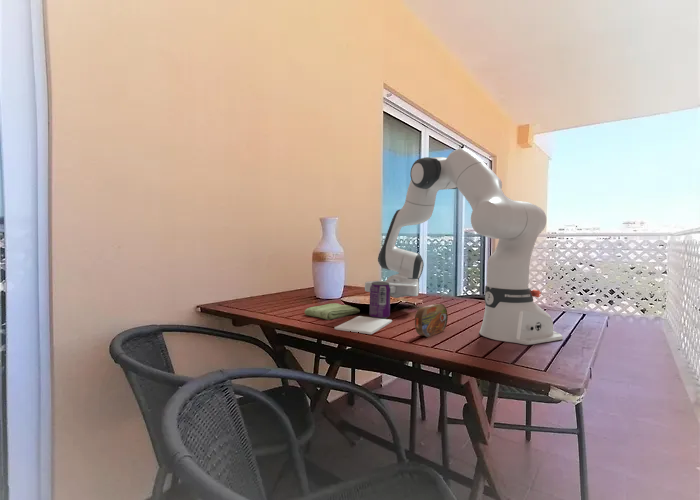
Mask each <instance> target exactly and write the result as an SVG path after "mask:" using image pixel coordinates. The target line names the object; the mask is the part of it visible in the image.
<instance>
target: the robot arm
mask: <svg viewBox="0 0 700 500" xmlns="http://www.w3.org/2000/svg"><path fill="white" fill-rule="evenodd" d="M502 188H503V182H502V180H501V178H500V177H499V176H498V175H497V174H496V173H495V172H494V171H493V170H492V169H491V168H490V166H488V164H487V163H486V162H485V161H483V159H482V158H480V157H479V156H478V155H476V154H475V153H474V152H472V151H471V150H469V149H467V148H461V147H460V148H457V149H454V150H453V151H452V152H450V153H449V154H448V156H447V157H444V156H441V157H440V156H437V157H436V156H435V157H429V156H427V157H422V158H419V159H417V160H415V161H414V162H413V164H412V166H411V169H410V182H409V184H408V188H407V191H406V196H405V199H404V200H405V201H404V203H403V206H402V207H401V208H400V209H397V210H396V211H395V213H394V214H393V217H392V218H391V221H390V224H389V226H388V229H387V233H386V236H385V237H384V238H385V239H384V240H383V244H382V247H381V248H380V250H379V253H378V257H377V262H378V264H379V266H380V268H382V269H384V270H387V271H393V272H396V273H397V274H394V275H393V274H392V275H390V276H388V277H387V279H386V280H382V281H381V280H370V281H365V282H364V291H365V292H367V293H370V287H371V285H372V284H371V283H372V282H387V283H389V286H390V298H391V297H392V298H393V299H394V298H395V299H398V298H403V297H418V296H419V291H420V285H419V284H420V283H419V279H420V278H421V276H422V273H423V270H424V267H425V266H424V264H425V263H424V260H423V258H422V256H421V254H420V253H418V252H414V251H411V250H406V249H403V248H399V247H397V246H396V243H397V240H398V237H399V234H400V231H401V229H402V228H404V227H407V226H409V227H410V226H415V225H421V224H423V223H425V222H427V221H428V220H429V219H430V218H431V217H432V215H433V213H434V210H435V204H436V199H437V195H438V192H439V191H440V190H442V191H443V190H456V189H458V191H459V192H460V193H461V194H462V196H463V198H465V200H466V201H467V202H468V204H469V206H470V207H471V209H472V211H471V213H470V224H471V227H472V229H473V230H474V232H476V233H477V234H478V235H480V236H482V237H486V238H489V239H492V240H493V239H496V240H498V242H497V245H496V248H495V249H494V252H493V253H492V254H491V255H490V256H489V257H488V259H487V262H486V263H487V265H486V266H487V267H486V285H485V287H484V288H485V289H484V304H485V305H484V306H485V307H484V314H483V320H482V324H481V325H480V326H481V327H480V330H479V335H481V336H483V337H485V338H488V339H491V340H495V341H498V342H499V341H501V342H507V343H515V344H521V345H528V346H531V345H536V344H543V343H548V342H554V341H559V340H560V341H561V340H563V339H564V338H563V335H562V334H561V333H559V332H557V331H554V322H553V319H552V316H551V315H550V314H549V313H548V312H547V311H545V310H544V309H543V308H541V306H540V305H538V304H537V303H536V302H534V297H535V298H541V297H542V292H541V290H539V289H532V290H531V289H530V288H529V285H530V284H529V283H530V282H529V279H530V264H531V258H532V254H533V250H534V247H535V244H536V241H537V239H538V237H539V235H541V233H542V232H543V231H544V230H545V228H546V225H547V215H546V213H545V211H544V210H543V209H542V208H541V207H539V206H538V205H536V204H534V203H532V202H529V201H521V200H513V199H511V198H509V197H508V196H506V195H505V193H504V192H503V190H502Z"/></svg>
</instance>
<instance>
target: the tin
mask: <svg viewBox="0 0 700 500" xmlns="http://www.w3.org/2000/svg"><path fill="white" fill-rule="evenodd" d="M448 318H449V317H448V309H447V307H446V305H444V304H443V303H433V304H429V305H425V306H422V307H420V308H418V309H417V311H416V313H415V316H414V326H415V331H416V334H417V335H419V336H420V337H421V336H422V337H426V338H430V337H433V336H435V335H438V334H440V333H442V332H444V331H445V329H446V328H447V325H448Z"/></svg>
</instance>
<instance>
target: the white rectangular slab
mask: <svg viewBox="0 0 700 500" xmlns="http://www.w3.org/2000/svg"><path fill="white" fill-rule="evenodd" d="M392 322H393V320H392V319H388V318H385V319H380V318H373V317H371V316H362V315H359V316H355V317H354V318H352V319H350V320H348V321H344V322H343V323H341V324H339V325H337V326H334V330H337V331H344V332H350V331H351V332H352V333H358V332H359V334H364V335H365V334H367V335H373V334H374V333H376V332H378V331H380V330H381V329H383V328H384V327H386V326H388V325H389V324H391V323H392Z"/></svg>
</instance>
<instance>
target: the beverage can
mask: <svg viewBox="0 0 700 500" xmlns="http://www.w3.org/2000/svg"><path fill="white" fill-rule="evenodd" d="M371 284H372V285H371V287H370V292H369V313H368V314H369V317H372V318H380V319H388V318H389V317H390V316H391V296H390V286H389V283H387V282H372V283H371Z"/></svg>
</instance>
